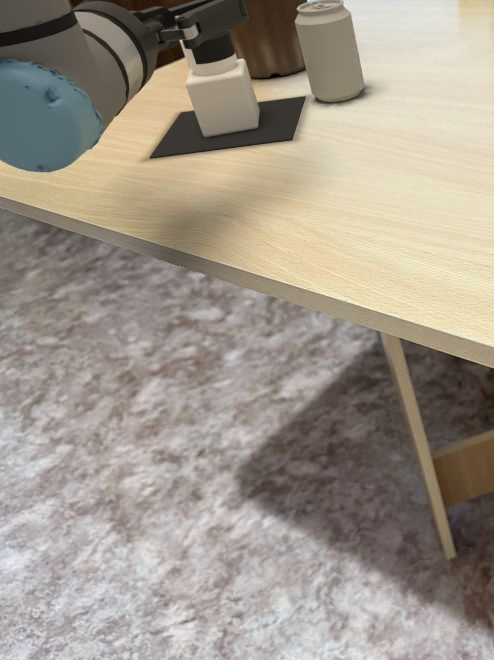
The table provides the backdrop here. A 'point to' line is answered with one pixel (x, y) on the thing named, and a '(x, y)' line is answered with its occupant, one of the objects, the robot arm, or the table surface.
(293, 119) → the mat
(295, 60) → the plant pot
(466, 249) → the table surface
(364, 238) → the table surface
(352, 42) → the can
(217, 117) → the medicine bottle
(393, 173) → the table surface
